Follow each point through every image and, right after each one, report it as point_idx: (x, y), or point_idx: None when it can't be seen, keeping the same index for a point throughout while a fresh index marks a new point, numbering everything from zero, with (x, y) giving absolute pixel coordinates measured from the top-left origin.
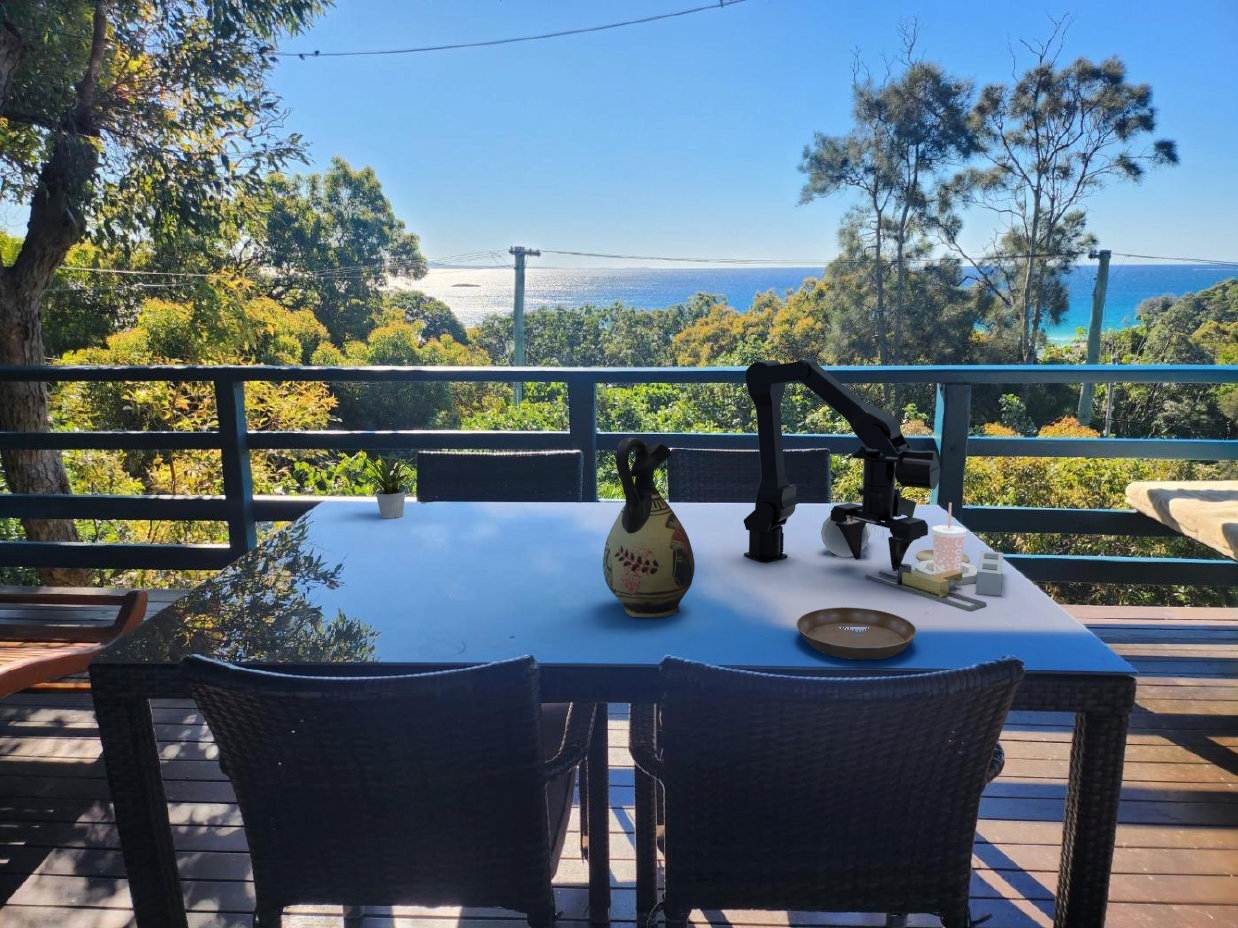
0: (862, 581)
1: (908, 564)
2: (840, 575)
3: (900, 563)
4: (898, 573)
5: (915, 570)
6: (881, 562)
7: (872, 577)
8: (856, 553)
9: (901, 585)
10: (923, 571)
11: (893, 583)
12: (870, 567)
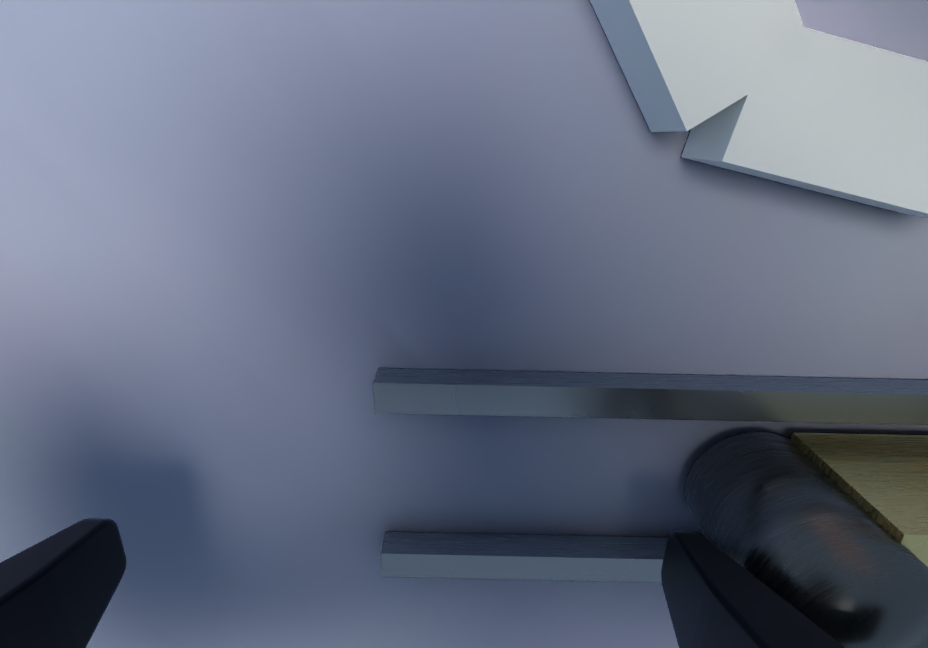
0: (444, 626)
1: (900, 586)
2: (235, 639)
3: (767, 596)
4: None
5: (679, 130)
6: (41, 13)
7: (465, 570)
8: (71, 643)
9: None
10: (849, 175)
11: None
12: (162, 293)
